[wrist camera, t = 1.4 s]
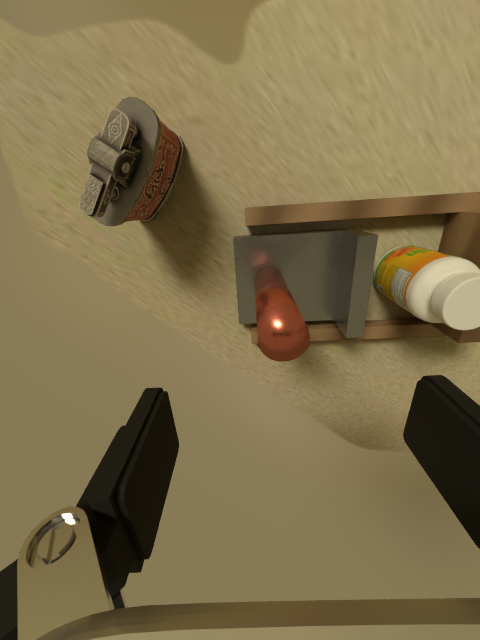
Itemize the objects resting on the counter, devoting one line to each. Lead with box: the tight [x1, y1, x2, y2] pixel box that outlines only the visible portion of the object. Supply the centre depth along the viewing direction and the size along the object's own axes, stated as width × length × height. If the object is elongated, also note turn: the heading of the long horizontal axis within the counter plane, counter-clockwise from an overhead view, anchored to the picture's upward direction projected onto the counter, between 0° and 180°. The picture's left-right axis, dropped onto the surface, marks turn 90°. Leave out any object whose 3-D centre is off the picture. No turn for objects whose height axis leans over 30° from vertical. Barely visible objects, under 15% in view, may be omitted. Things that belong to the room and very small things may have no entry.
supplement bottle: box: [373, 245, 480, 330], centre depth 22 cm, size 5×5×10 cm
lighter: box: [78, 97, 185, 226], centre depth 19 cm, size 8×3×10 cm, turn 148°
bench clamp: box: [245, 192, 480, 344], centre depth 24 cm, size 22×14×6 cm, turn 94°
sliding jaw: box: [233, 229, 378, 361], centre depth 21 cm, size 12×9×13 cm
